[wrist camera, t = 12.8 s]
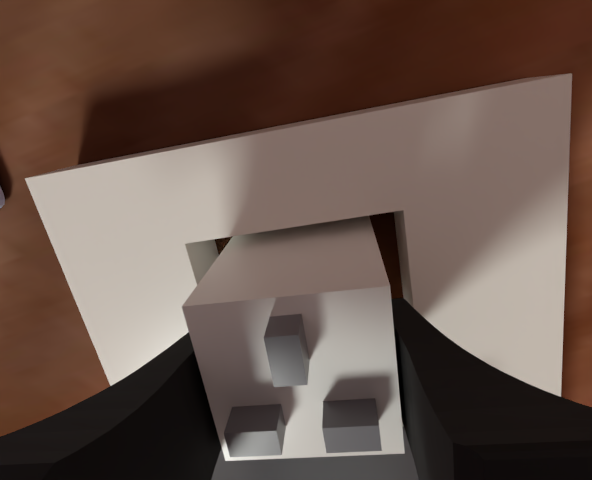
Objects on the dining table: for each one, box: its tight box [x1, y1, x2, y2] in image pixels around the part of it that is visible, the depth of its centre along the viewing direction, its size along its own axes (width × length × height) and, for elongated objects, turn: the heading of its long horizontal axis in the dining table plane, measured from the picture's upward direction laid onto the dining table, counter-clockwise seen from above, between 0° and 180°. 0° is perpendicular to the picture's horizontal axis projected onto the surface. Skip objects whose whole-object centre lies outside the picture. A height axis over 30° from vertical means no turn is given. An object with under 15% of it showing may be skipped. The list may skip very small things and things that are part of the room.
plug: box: [182, 215, 405, 461], centre depth 11 cm, size 4×4×7 cm
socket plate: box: [25, 73, 572, 427], centre depth 15 cm, size 15×20×2 cm
